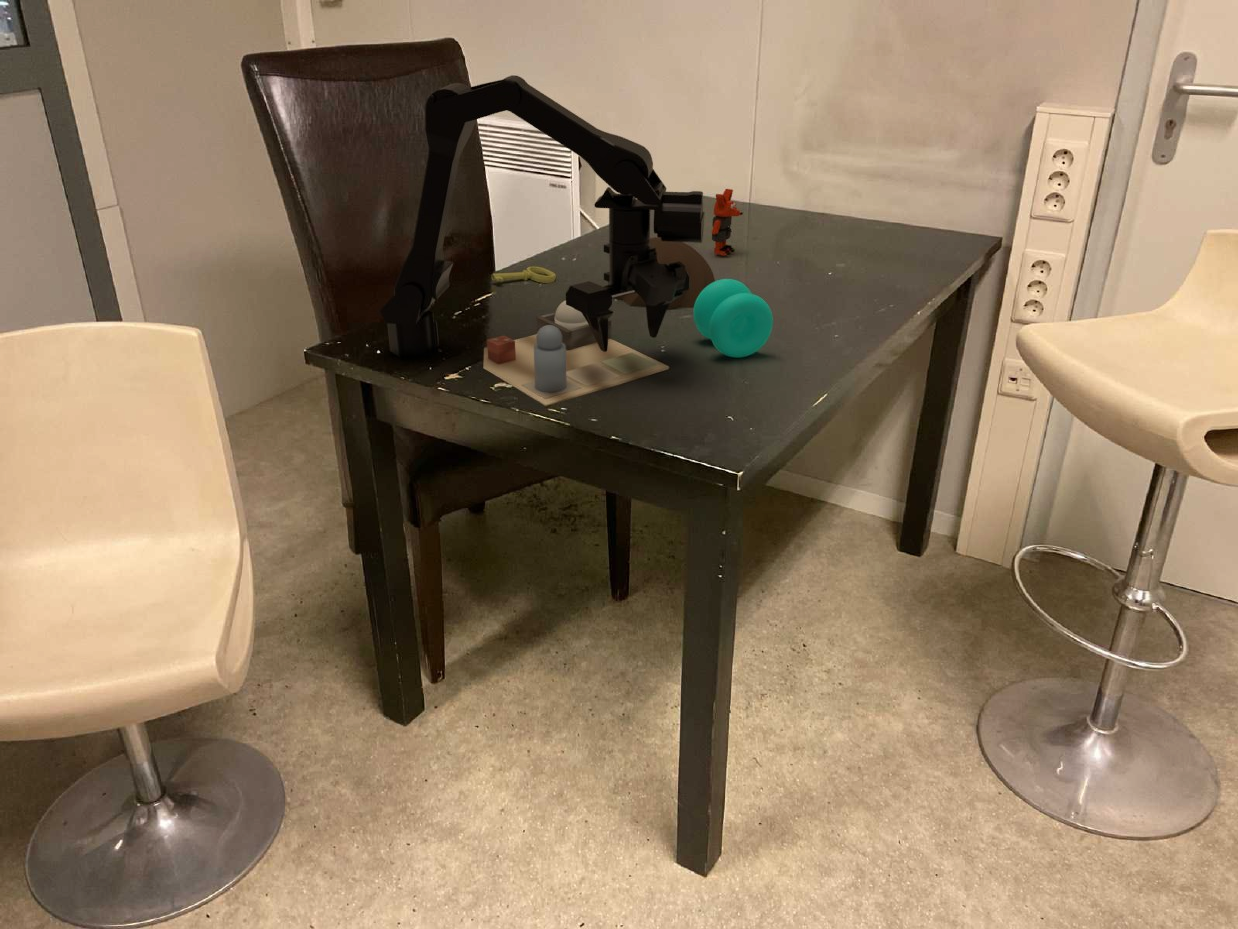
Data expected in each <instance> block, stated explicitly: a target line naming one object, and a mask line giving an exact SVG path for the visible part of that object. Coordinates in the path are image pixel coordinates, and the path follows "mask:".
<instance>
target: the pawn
mask: <svg viewBox="0 0 1238 929" xmlns="http://www.w3.org/2000/svg"><path fill="white" fill-rule="evenodd" d="M536 334H537V336H536V341H537V343H536V344H535V345H534V366H535V387H536V389H537V390H539V391H541V392H547V393H553V392H559V391H562V390H564V389H565V388H566V387H567V383H566V346H565V344H564V343H562V334H561V331H560V330H559V329H558V328H557V327H555V326H552V325H546V326H543V327H542V328H540V330H539V331H538V333H537V332H536Z"/></svg>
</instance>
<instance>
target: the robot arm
mask: <svg viewBox="0 0 1238 929" xmlns="http://www.w3.org/2000/svg"><path fill="white" fill-rule="evenodd" d="M505 111H507V112H510V113H512V114H513V115H515V116H516V117H518V118H520V119H521V120H522V121H524V122H525V123H527V124H529V125H530V126H532V127H534V128H535V129H537V130H539V131H540V132H542V133H543V134H545V135H546V136H548V137H549V138H551V139H553V140H554V141H555V142H557V143H558V144H561V145H562V146H563V147H565V148H566V149H568V150H570V152H572V153H574V154H576V155H578V156H579V157H580V158H581V159H583V161H585V162H586V163H587V165H589V167H590V168H591V169H592V170H593V172H594V173H595V174H596V175H597V176H598V177H599V178H600V179H601V180H602V181H604V182H605V184H607V185H608V186H607V187H606V189H605V190H604V192H603V193H602V195H601V196H599V197H598V198H597V199H596V200H595V203H594V208H596V209H608V237H609V239H608V243H607V244H606V243H605V244H603V253H606V254H608V261H609V262H608V266H609V267H608V269H609V270H608V271H606V272H604V273H603V281H606V282H607V283H608V282H609V284H610V285H608V284H607V285H603V286H602V285H600V284H597V283H595V282H593V281H591V280H589V281H585V282H580V283H576V284H571V285H569V287H568V288H567V289H566V291H565V300H566V305H568V306H570V307H572V308H574V309H576V310H578V311H580V312H581V313H582V314H583V316H584V318H585V319H586V321H587V323H588V324H589V326H590V328H591V330H592V333H593V335H594V337H595V339H596V341H597V343H598V345H599V347H600V349H601V351H603V352H606V351H607V348H608V319H609V320H610V318H611V316H612V315H613V313H614V311H613V310H610V308H611V307H612V305H613V299H616V297H620V296H624V295H628V294H632V293H637V294H638V295H639V296H640V297H641V298H642V299H643V301H644V302H645V303H646V306H645V310H646V311H645V312H646V321H647V328H648V333H649V336H650V338H653V339H655V338H657V336H658V334H659V331H660V329H661V325H662V322H663V321H664V318H665V315H666V313H667V311H668V310H667V309H668V307H669V305H670V303H671V302H672V301H674V300H675V299H676V298H678V297H680V296H682V294H683V292H682V291H686V290H689V288H690V276H689V275H688V273H687V271H686V267H685V265H684V264H682V263H681V262H680V261H679V262H674V263H670V264H668V263H664V264H659V263H658V261H657V252H656V248H654V247H651V246H650V238H651V211H653V233H654V234H657V235H656V237H661V240H662V241H670V242H683V243H697V244H702V243H703V240H704V239H703V238H704V229H705V216H706V215H705V213H706V212H705V211H704V192H703V191H700V190H699V191H698V190H692V191H687V192H685V191H667V187H666V185H665V184H664V183H663V181H662V179H661V178H660V177H659V175H658V173H657V172H656V171H655V169H654V162H653V158H652V154H651V152H650V151H649V149H648V148H646V146H644V145H641V144H639V143H637V142H635V141H633V140H631V139H628V138H625V137H623V136H620V135H617V134H614V133H609V132H607V131H604V130H601V129H599V128H597V127H596V126H594V125H592V124H591V123H589V122H588V121H586V120H585V119H583V118H582V117H580V116H578V115H576V113H574V112H573V111H571V110H569V109H568V108H566V107H564V106H563V105H561V104H560V103H558V102H557V101H555V100H553V99H552V98H550V97H549V96H547V95H546V94H544V93H542V92H541V91H539V90H538V89H536V88H535V87H533V86H532V85H530V84H529V83H528V82H527V81H526V80H525V79H524V78H523V77H521V76H519V75H509V76H507V77H505V78H503V79H498V80H493V81H489V82H485V83H480V84H477V85H473V86H468V85H466V84H465V83H459V82H454V83H450V84H448V85H445V86H443V87H441V88H440V89H437V90H435V91H434V92H432V93H431V94H430V95H429V96H428V98H427V99H426V102H425V106H424V133H425V138H426V144H427V148H428V150H427V151H428V154H427V160H426V166H425V171H424V178H423V181H422V182H423V183H422V189H421V195H420V198H419V199H420V200H419V204H418V210H417V216H416V224H415V227H414V233H413V240H412V245H411V248H410V250H409V252H408V255H407V256H406V258H405V260H404V262H403V264H402V267H401V268H400V271H399V274H398V276H397V280H396V282H395V284H394V288H393V296H392V297H391V298H390V299H389V300H388V301H387V303H385V305H383V306H382V308H380V314H381V316H382V318H383V320H384V323H385V324H386V325H387V333H388V341H389V351H390V353H393V355H395V356H397V357H398V358H399V359H400V360H401V361H403V362H404V361H410V360H414V359H419V358H423V357H426V356H431V355H435V354H440V353H442V350H441V349H440V348H439V344H440V343H439V332H438V323H437V321H436V319H434V317H435V316H434V313H433V312H432V311H430V308H433V306H434V304H435V301H436V300H438V298H439V297H441V295H442V294H443V293H445V291H446V290H447V289H448V288H449V287H450V286H451V285H450V280H449V279H450V274H451V270H452V268H453V265H454V262H453V261H451V260H450V261H449V260H445V256H444V251H443V250H444V248H443V247H444V242H445V236H446V231H447V226H448V221H449V218H450V217H449V216H450V212H451V211H450V210H451V206H452V201H453V200H452V199H453V195H454V191H455V186H456V179H457V174H458V170H459V165H460V164H459V163H460V159H461V155H462V153H463V150H464V148H465V146H466V144H467V143H468V140H469V139H470V137H471V135H472V132H473V130H474V128H475V125H476V123H477V120H479V119H482V118H485V117H486V118H487V117H489V116H492V115H495V114H498V113H502V112H505ZM620 289H621V290H620Z"/></svg>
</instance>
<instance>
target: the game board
mask: <svg viewBox="0 0 1238 929" xmlns="http://www.w3.org/2000/svg"><path fill="white" fill-rule="evenodd" d="M555 314H556V311H555V312H551V313H547V314H543V315H539V316H536V334H533V335H529V336H525V337H522V338H518V339H517V338H516V339H512V338H510V337H508V336H506V335H500V336H496V337H492V338H489V339H486V345H487V346H486V347H484V348H483V369H484V370H486V371H487V372H490V373H491V374H493V375H494V376H496V377H498V378H499V379H501V380H502V381H504V382H505V383H506V384H509V385H510V386H512V387H514V388H515V389H517V390H519V391H520V392H522V393H523V394H525V395H527V396H528V397H530V398H531V399H533V400H535V401H536V402H538V403H540V404H542V405H543V406H545V407H546V406H550V405H551V406H552V405H555V404H557V403H560V402H564V401H567V400H571V399H574V398H577V397H581V396H584V395H588V394H591V393H594V392H599V391H602V390H605V389H609V388H612V387H615V386H619V385H622V384H624V383H629V382H633V381H635V380H638V379H642V378H644V377H648V376H651V375H655V374H656V373H661V372H664V371H667V370H669V369H670V366H669V365H667V364H664V363H663V362H660V361H658V360H657V359H654V358H652V357H649V356H648V355H645V354H644V353H641V352H639V351H637V350H635V349H634V348H631V347H628V346H627V345H624V344H623V343H620V342H618V341H616V340H614V339H612V319H610V318H609V319H608V348H607V351H606V352H603V351H601V349H600V347H599V345H598V343H597V341H596V339H595V337H594V335H593V333H592V330H591V328H590V326H589V324H587V325H583V326H580V327H576V328H572V329H567V328H564V327H562V326H560V325H558V324H556V323H555ZM546 325H552V326H555V327H557V328H558V329H559V330H560V331H561V334H562V343H564V344H565V346H566V383H567V387H566V388H565V389H564V390H562V391H559V392H553V393H547V392H541V391H539V390H537V389H536V387H535V366H534V345H535V344H536V343H537V341H536V336H537V333H538V331H539V330H540V328H542V327H543V326H546Z"/></svg>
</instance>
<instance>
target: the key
mask: <svg viewBox="0 0 1238 929" xmlns="http://www.w3.org/2000/svg"><path fill="white" fill-rule="evenodd" d="M556 278H557V276H556V273H554V272H553V271H551V270H549V269H547V268H544V267H541V266H528V267H527V268H526V269H523V270H522V271H520V272H504V273H502V272H501V273H499V272H498V273H492V274H491V280H492V281H497V282H504V281H508V280H511V281H512V280H523V281H524V282H525V281H528V279H530V280H532V281H534V282H538V283H542V284H543V283H544V284H549V283H554V282H555V281H556Z"/></svg>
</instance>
